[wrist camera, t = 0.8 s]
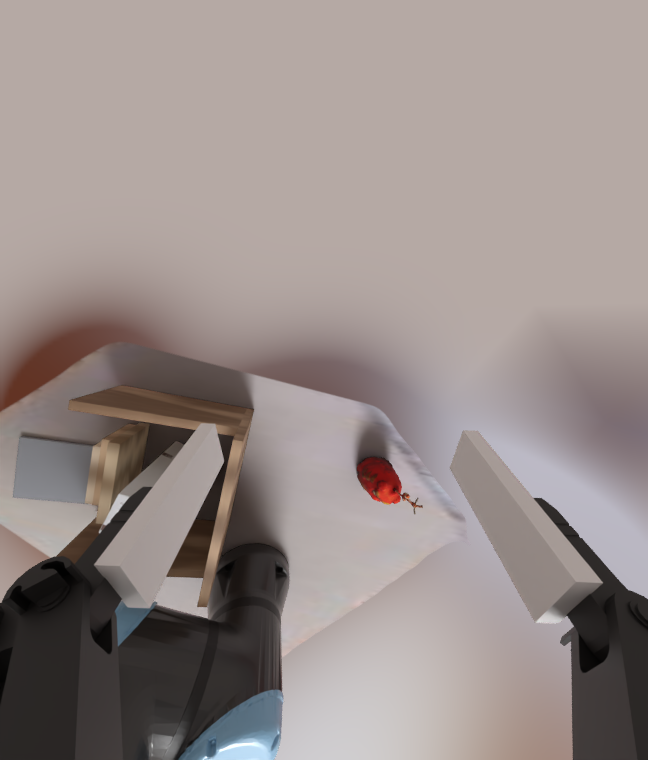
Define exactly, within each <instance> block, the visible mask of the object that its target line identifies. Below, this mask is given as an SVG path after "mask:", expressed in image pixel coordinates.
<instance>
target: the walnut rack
mask: <svg viewBox="0 0 648 760" xmlns="http://www.w3.org/2000/svg"><path fill="white" fill-rule="evenodd" d="M68 410H73V411H79V412H85V413H92V414H98V415H104V416H111V417H117V418H123V419H130V420H136V421H142V422H149V423H155V424H161V425H167V426H174V427H180V428H186V429H193V430H196V429H197V428H198V427H199V425H200V424H201V423H206V424H215V425H216V429H217V433H218V434H224V435H230V436H234V439H233V442H232V447H231V451H230V456H229V461H228V465H227V470H226V475H225V479H224V484H223V489H222V493H221V498H220V503H219V507H218V512H217V517H216V521H211V520H199V519H195V520H194V522H193V524H192V526H191V528H190V530H189V532H188V534H187V536H186V538H185V540H184V542H183V544H182V546H181V548H180V550H179V552H178V554H177V556H176V558H175V560H174V562H173V564H172V566H171V568H170V570H169V571H168V573H167V575H166V577H192V578H203V582H202V587H201V592H200V596H199V601H198V606H197V607H207V605H208V601H209V597H210V594H211V590H212V586H213V582H214V579H215V575H216V571H217V567H218V563H219V560H220V556H221V552H222V548H223V545H224V541H225V537H226V533H227V529H228V525H229V521H230V516H231V512H232V507H233V503H234V498H235V494H236V489H237V484H238V480H239V475H240V471H241V466H242V462H243V457H244V453H245V448H246V444H247V439H248V435H249V430H250V426H251V421H252V416H253V412H254V409H248V408H243V407H237V406H232V405H227V404H221V403H216V402H210V401H205V400H200V399H194V398H189V397H183V396H178V395H172V394H167V393H162V392H156V391H151V390H145V389H140V388H135V387H129V386H124V385H121V386H117V387H114V388H110V389H107V390H103V391H100V392H96V393H93V394H89V395H86V396H82V397H79V398H75V399H72V400H70V401H69V408H68ZM96 518H97V517H96ZM96 518H95V519H94V520H93V521H92V522H91V523H90V524H89V525H88V526H87V527H86V528H85V529H84V530H83V531H82V532H81V533H80V534H79V535H78V536H77V537H75V538H74V539H73V540H72V541H71V542H70V543H69V544H68V545H67V546H66V547H65V548H64V549H63V550H62V551H61V552H60V553H59V554H58V555H57V556H56V557H58V556H65V557H67V558H69V559H70V560H71V561H72V562H73V563H74V564H75V563H76V562H77V561H78V559H79V558H80V557H81V556H82V554H83V553H84V552H85V551H86V550H87V548H88V547H89V546H90V545H91V543H92V542H93V541H94V540H95V539H96V537H97V536H98V535H99V534H100V533H99V530H100V528H101V526H102V525H103V524H97V523H96Z"/></svg>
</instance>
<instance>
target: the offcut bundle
mask: <svg viewBox="0 0 648 760" xmlns="http://www.w3.org/2000/svg"><path fill="white" fill-rule="evenodd" d="M149 425H150V424H146V423H139V424H137V425H133V424H128V425H126V426H124V427H122V428H121V429H119V430H117V431H115V432H114V433H112V434H110V435H108V436H107V437H105V438H103V439H102V441H101V442H99V443H97V444H96V445H94V446H93V449H92V456H91V463H90V470H89V477H88V484H87V491H86V497H85V503H86V504H92V505H98V512H97V518H96V523H97V524H103V523H104V521H105V519H106V517H107V515H108V513H109V512H110V510H111V508H112V506H113V504H114V502H115V500H116V498H117V496H118V494H119V493H120V492H121V491H122V490H123V489H124V488H125V487H126V486H127V485H129V484H130V483H131V482H132V481H133V480H134V479H135V478H136V477H137V476H138V475H139V474H140V473H141V472H142V466H143V460H144V454H145V448H146V442H147V437H148V431H149Z"/></svg>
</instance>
